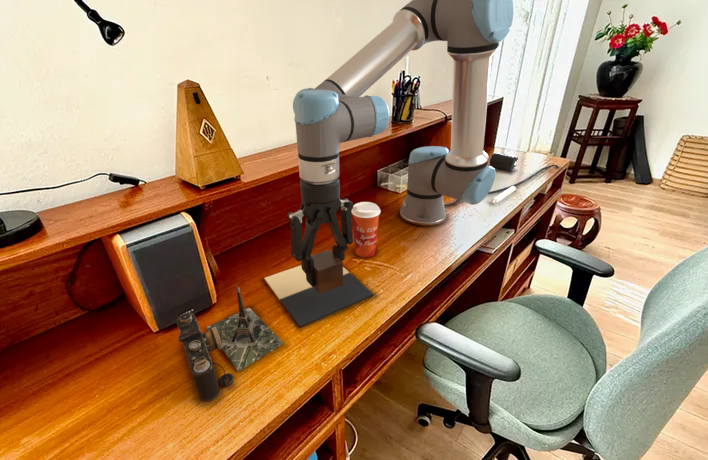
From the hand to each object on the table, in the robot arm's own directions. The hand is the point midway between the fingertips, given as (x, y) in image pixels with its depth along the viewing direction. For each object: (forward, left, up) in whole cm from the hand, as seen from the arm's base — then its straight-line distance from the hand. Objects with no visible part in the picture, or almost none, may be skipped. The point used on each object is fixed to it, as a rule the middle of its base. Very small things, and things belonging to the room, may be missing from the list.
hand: (324, 277), depth 79 cm
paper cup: (-20, -13, -7) cm, 25 cm away
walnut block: (0, 0, -1) cm, 1 cm away
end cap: (-111, -36, -7) cm, 117 cm away
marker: (-85, -16, -7) cm, 87 cm away
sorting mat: (-1, -6, -7) cm, 10 cm away
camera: (+27, +3, -7) cm, 28 cm away
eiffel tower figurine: (+19, 0, -7) cm, 20 cm away
